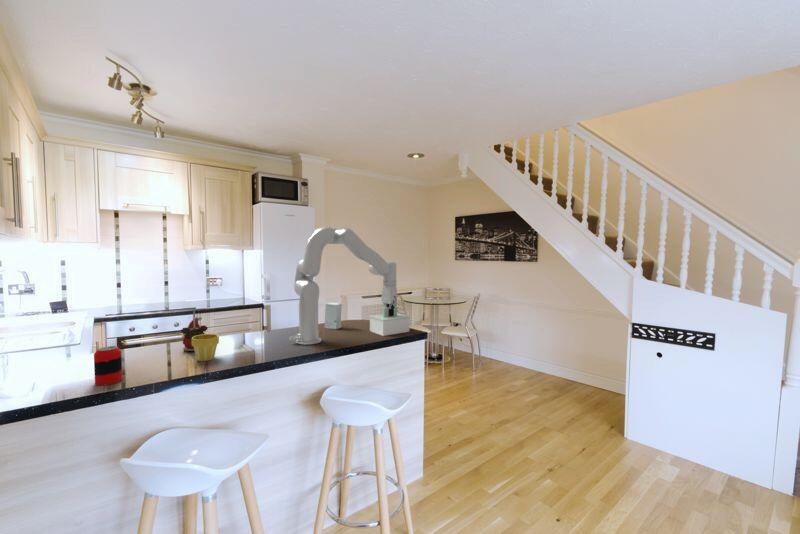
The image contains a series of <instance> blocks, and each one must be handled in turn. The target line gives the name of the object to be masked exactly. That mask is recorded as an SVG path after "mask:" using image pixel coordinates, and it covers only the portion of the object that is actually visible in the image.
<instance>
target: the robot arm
mask: <svg viewBox="0 0 800 534" xmlns="http://www.w3.org/2000/svg"><path fill="white" fill-rule="evenodd" d="M328 244H329V245H343V246H344V247H346V249H348V250H349V251H350V252H351V253H352V254H353V255H354V257H356V258H357V259H359V260H361V261H364V262H365V263H367V264H368V265H369V266H368V271H369V272H370V273H371V274H372V275H375V276H380V277H381V276H382V277H383V278H382V289H381V302H382V303H383V304H384V305H383V306H384V308H387V307H389V316H394V307H397V306H398V304H397V303H398V287H397V263H396V262H394V261H386V260H385V258H383V257H382V256H381V255H380V254H379V253H378V252H376V251H375V250H373V248H371V247H369V245H367V244H366V243H365V242H364V241H363V239H362V238H360V237H359V236H358V235H357V233H355V231H354V230H353V229H351V228H348V227H344V228H343V227H342V228H333V227H330V226H324V227H318V228H316V229H315V230H314V232H313V233H312V235H311V236H310V237H309V238H308V240H307V243H306V245H305V250H304V255H303V258H302V259H300V260H299V262H298V263H297V266H296V270H295V277H294V286H293V287H294V292H295V293H296V295H297V296H299V302H298V303H299V304H298V332H297V333H296V334H295V335H290V336H289V341H292V340H293V341H295V343H296V344H298V345H301V346H302V345H305V346H307V345H317V344H319V343H322V338H321V337H319V301H320V300H319V299H320V298H319V297H320V287H319V285H318V283H317V282H316V281H315V280H314V278H315V277H317V276H318V275H319V273H320V271H321V265H322V255H323V251H324V249H325V247H326V246H327V245H328Z"/></svg>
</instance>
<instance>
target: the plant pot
mask: <svg viewBox="0 0 800 534" xmlns="http://www.w3.org/2000/svg"><path fill="white" fill-rule="evenodd" d="M219 343H220V335H219V334H216V333H205V334H202V335H196V336H193V337H192V346H193V347H194V351H193V352H194V354H195V355H194V356H195V357H196V358H195V359H196V360H197V361H198V362H207V361H211V360H214V359H215V355H216V350H217V346H218V344H219Z"/></svg>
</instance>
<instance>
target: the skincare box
mask: <svg viewBox="0 0 800 534" xmlns="http://www.w3.org/2000/svg"><path fill="white" fill-rule="evenodd" d="M342 306H343V305H342V303H340V302H339V303H338V302H326V303H325V309H324V329H327V330H328V329H329V330H338V329H340V328H342V308H343V307H342Z"/></svg>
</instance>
